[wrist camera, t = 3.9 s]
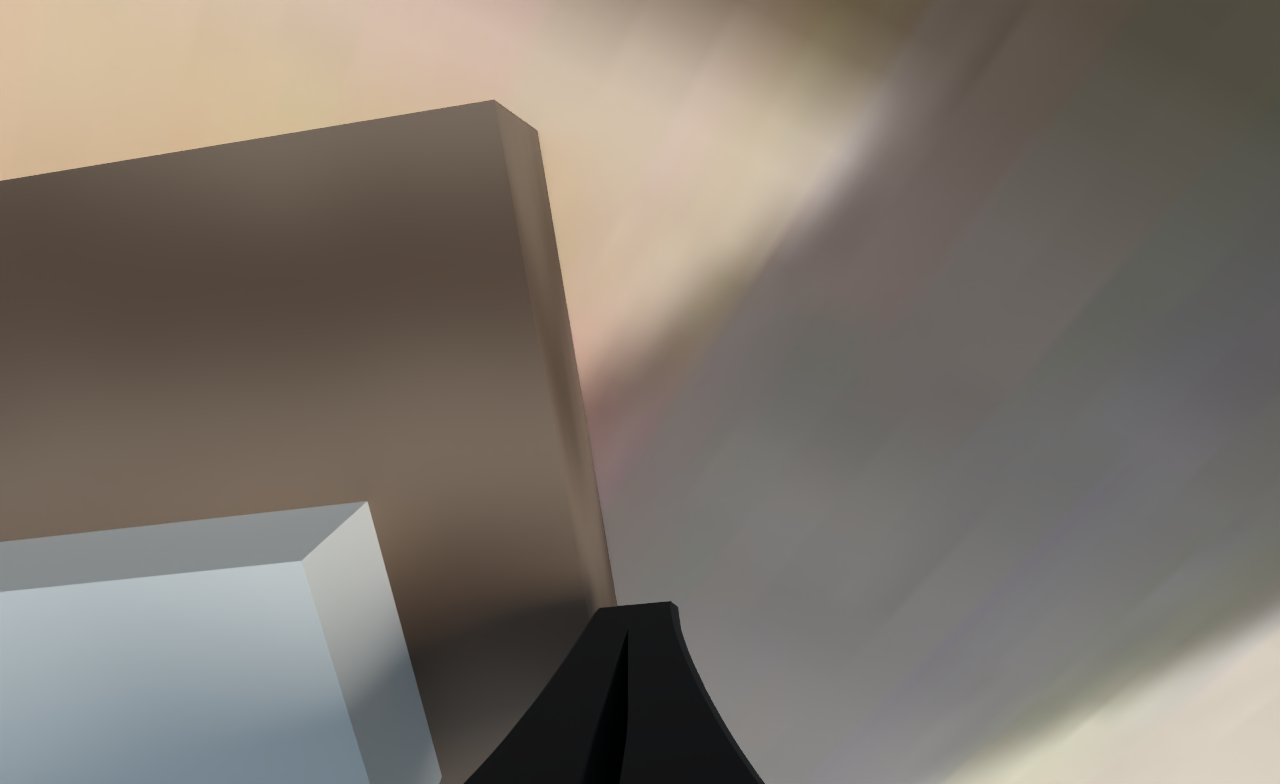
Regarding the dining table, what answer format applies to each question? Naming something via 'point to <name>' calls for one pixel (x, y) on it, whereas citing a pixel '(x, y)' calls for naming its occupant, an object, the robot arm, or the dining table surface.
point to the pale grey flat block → (209, 656)
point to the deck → (322, 377)
